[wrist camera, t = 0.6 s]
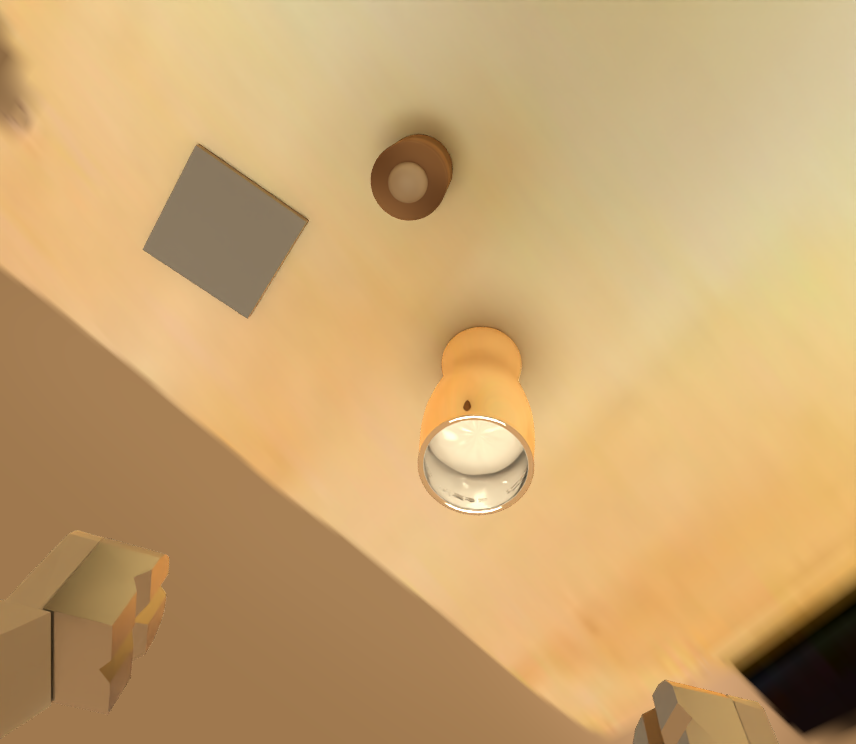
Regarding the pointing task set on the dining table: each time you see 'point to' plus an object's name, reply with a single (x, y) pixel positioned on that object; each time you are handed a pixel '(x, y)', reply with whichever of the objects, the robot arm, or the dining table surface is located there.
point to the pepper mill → (411, 177)
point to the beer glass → (478, 426)
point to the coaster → (224, 232)
